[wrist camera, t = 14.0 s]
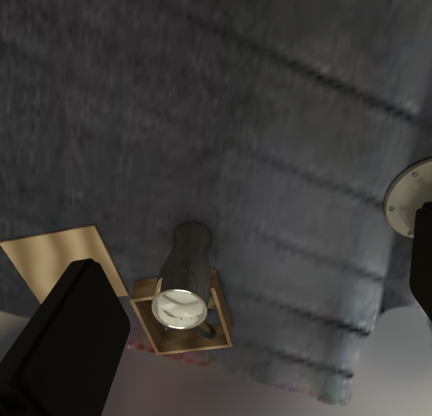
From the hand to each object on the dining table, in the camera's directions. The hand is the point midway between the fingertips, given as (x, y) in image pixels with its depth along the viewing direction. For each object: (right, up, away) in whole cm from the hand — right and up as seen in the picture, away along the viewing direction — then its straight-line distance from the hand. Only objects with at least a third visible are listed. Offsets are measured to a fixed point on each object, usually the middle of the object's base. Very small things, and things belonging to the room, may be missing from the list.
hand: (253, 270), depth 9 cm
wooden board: (-27, -9, +44) cm, 52 cm away
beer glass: (-5, -3, +40) cm, 41 cm away
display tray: (-6, -16, +47) cm, 50 cm away
